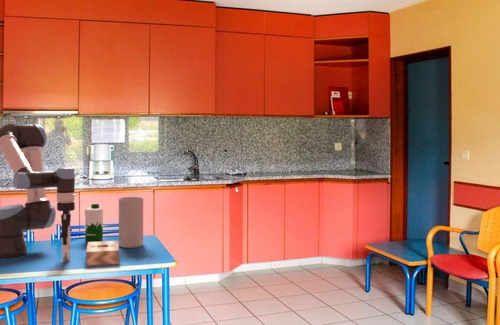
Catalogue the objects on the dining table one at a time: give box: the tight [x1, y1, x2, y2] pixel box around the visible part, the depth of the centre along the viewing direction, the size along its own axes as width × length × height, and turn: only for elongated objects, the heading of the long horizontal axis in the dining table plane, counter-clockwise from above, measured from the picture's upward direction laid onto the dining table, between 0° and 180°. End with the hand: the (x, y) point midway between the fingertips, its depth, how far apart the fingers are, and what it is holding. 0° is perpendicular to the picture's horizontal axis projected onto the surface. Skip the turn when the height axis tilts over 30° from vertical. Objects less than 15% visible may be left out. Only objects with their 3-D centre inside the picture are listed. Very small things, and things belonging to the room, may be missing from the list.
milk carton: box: [84, 203, 104, 243], centre depth 273 cm, size 9×9×20 cm
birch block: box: [85, 240, 120, 266], centre depth 235 cm, size 14×22×6 cm, turn 16°
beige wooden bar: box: [62, 225, 71, 263], centre depth 228 cm, size 3×3×16 cm
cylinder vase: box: [118, 196, 144, 249], centre depth 263 cm, size 12×12×25 cm
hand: (66, 248), depth 228 cm, fingers open, 12 cm apart
